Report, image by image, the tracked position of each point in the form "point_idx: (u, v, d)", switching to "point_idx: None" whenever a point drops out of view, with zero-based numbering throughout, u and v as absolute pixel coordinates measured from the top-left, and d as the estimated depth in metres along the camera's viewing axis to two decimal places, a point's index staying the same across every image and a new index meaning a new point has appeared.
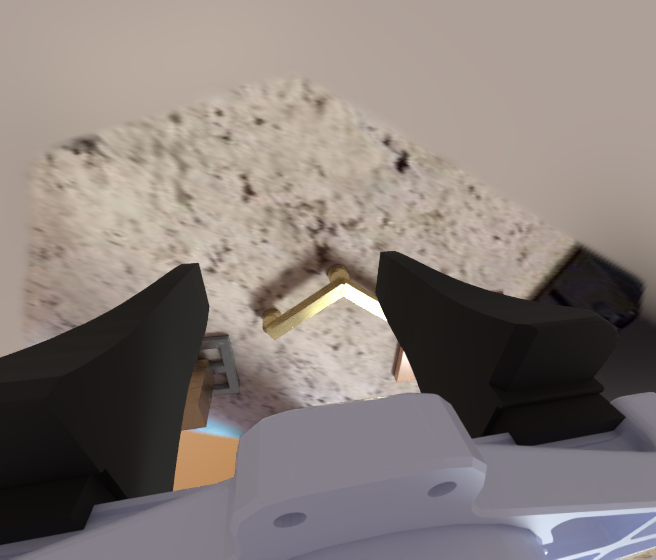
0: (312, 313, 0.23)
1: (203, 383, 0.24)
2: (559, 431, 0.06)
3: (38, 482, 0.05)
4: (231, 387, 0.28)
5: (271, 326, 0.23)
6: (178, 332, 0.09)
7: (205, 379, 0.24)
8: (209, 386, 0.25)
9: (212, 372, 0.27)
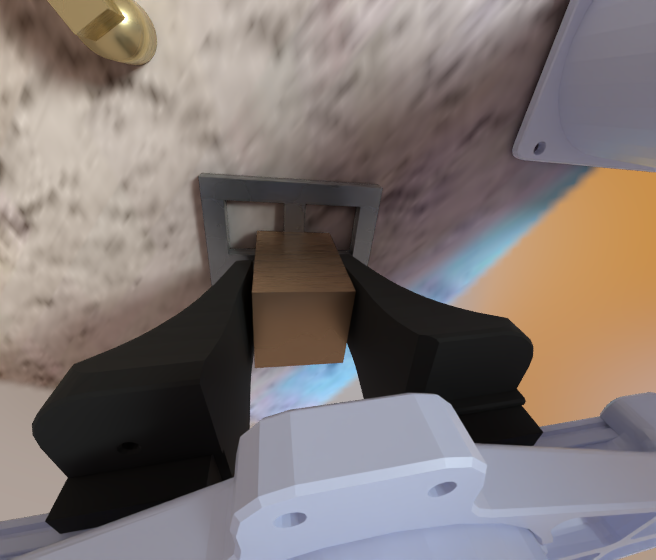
0: None
1: (263, 258, 0.10)
2: None
3: (168, 461, 0.05)
4: (359, 202, 0.12)
5: None
6: (245, 326, 0.09)
7: (269, 250, 0.10)
8: (305, 247, 0.11)
9: (299, 231, 0.12)
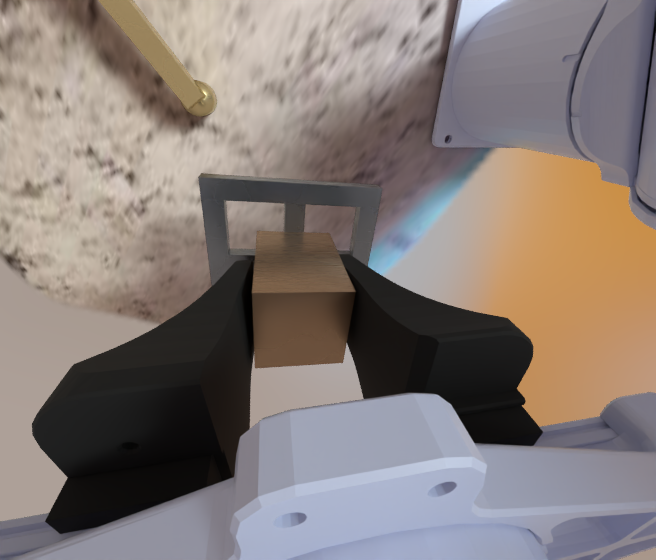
0: (128, 7, 0.12)
1: (263, 258, 0.10)
2: None
3: (168, 461, 0.05)
4: (359, 202, 0.12)
5: None
6: (245, 326, 0.09)
7: (269, 251, 0.10)
8: (305, 247, 0.11)
9: (299, 231, 0.12)
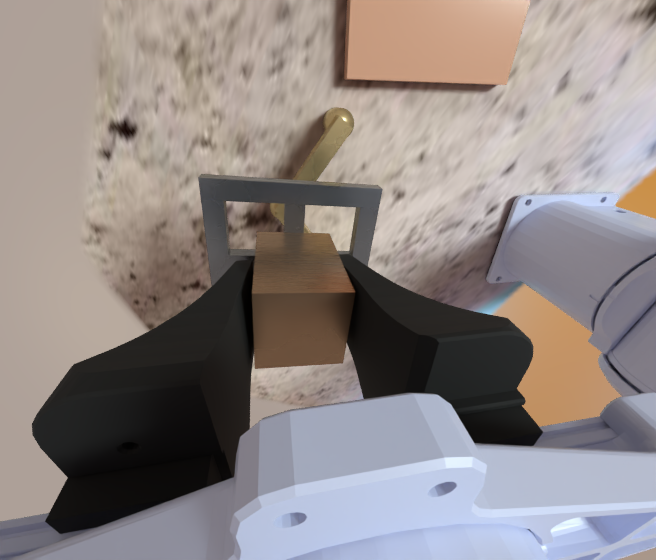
0: None
1: (263, 259, 0.10)
2: None
3: (168, 461, 0.05)
4: (359, 203, 0.12)
5: None
6: (245, 326, 0.09)
7: (269, 251, 0.10)
8: (305, 247, 0.11)
9: (299, 231, 0.12)
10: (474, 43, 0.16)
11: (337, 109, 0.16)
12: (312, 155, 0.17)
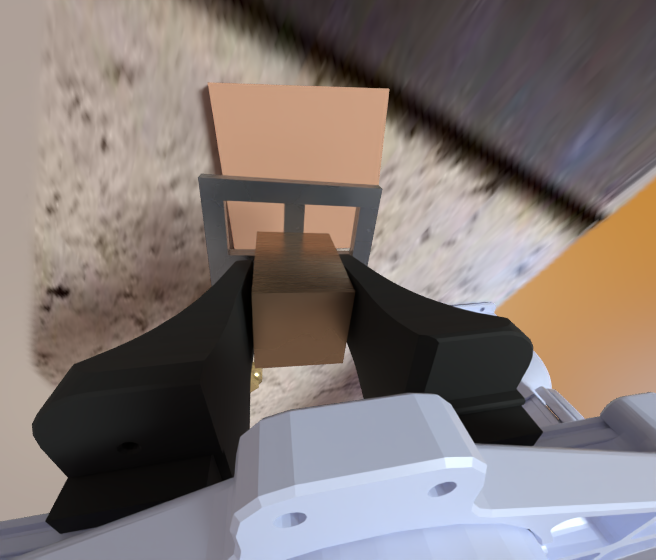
0: None
1: (262, 258, 0.10)
2: None
3: (168, 461, 0.05)
4: (359, 203, 0.12)
5: None
6: (245, 326, 0.09)
7: (269, 251, 0.10)
8: (305, 247, 0.11)
9: (298, 231, 0.12)
10: (337, 224, 0.21)
11: None
12: None
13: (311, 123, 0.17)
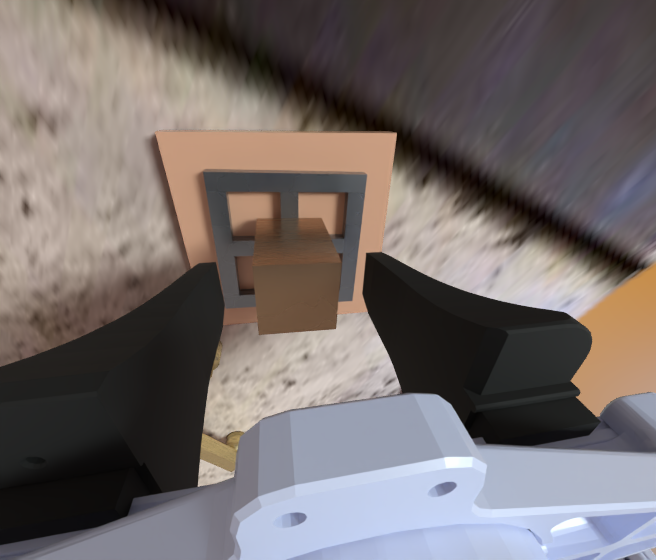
0: None
1: (262, 239, 0.11)
2: (532, 436, 0.06)
3: (81, 475, 0.05)
4: (347, 188, 0.13)
5: None
6: (199, 330, 0.09)
7: (267, 233, 0.12)
8: (299, 229, 0.12)
9: (294, 217, 0.14)
10: None
11: None
12: None
13: None
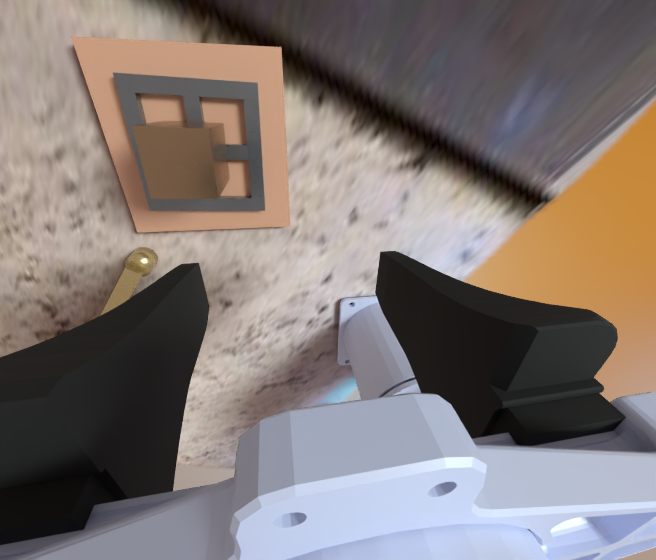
0: None
1: (156, 123, 0.14)
2: (559, 431, 0.06)
3: (38, 482, 0.05)
4: (242, 95, 0.16)
5: None
6: (178, 332, 0.09)
7: (164, 122, 0.14)
8: (194, 123, 0.15)
9: (198, 120, 0.16)
10: None
11: (131, 256, 0.19)
12: (111, 294, 0.19)
13: None
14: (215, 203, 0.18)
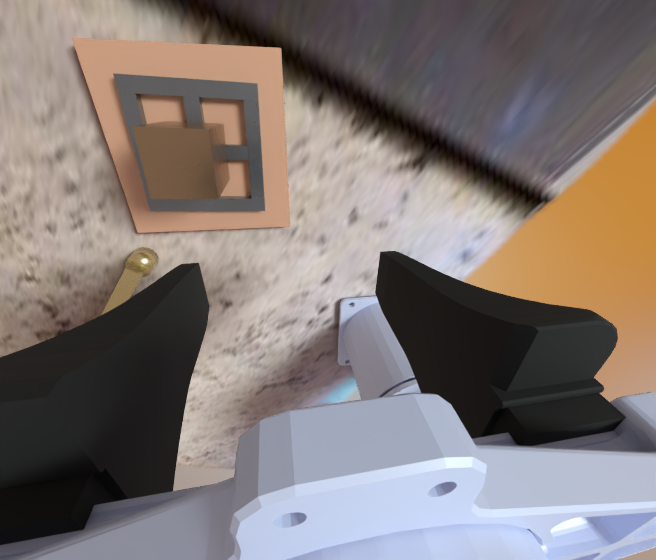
0: None
1: (156, 123, 0.14)
2: (559, 431, 0.06)
3: (38, 482, 0.05)
4: (242, 96, 0.16)
5: None
6: (178, 332, 0.09)
7: (164, 123, 0.14)
8: (195, 123, 0.15)
9: (198, 121, 0.16)
10: None
11: (132, 256, 0.19)
12: (112, 294, 0.20)
13: None
14: (215, 203, 0.18)
